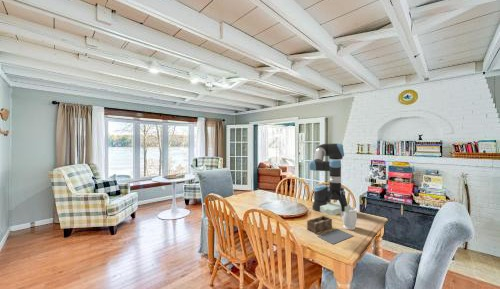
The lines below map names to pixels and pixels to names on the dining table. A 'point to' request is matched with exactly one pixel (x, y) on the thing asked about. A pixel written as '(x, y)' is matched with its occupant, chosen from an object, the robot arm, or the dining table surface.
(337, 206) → the lid
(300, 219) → the dining table surface
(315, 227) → the box
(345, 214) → the jar
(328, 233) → the mat
